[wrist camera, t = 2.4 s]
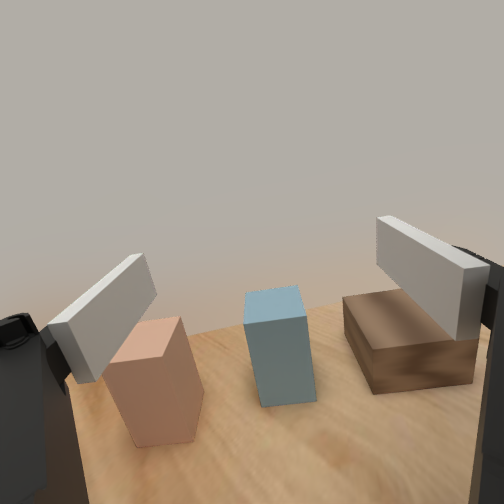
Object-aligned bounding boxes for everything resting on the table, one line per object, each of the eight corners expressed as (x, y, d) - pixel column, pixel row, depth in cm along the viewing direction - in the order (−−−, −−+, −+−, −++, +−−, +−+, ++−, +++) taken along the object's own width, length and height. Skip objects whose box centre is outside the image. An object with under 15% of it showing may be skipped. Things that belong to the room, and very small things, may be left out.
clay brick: (204, 391, 33) (180, 316, 29) (193, 441, 27) (162, 356, 23) (156, 397, 33) (127, 323, 29) (136, 447, 28) (96, 364, 24)
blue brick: (306, 360, 35) (297, 285, 31) (316, 401, 29) (306, 315, 25) (260, 366, 35) (245, 292, 31) (261, 407, 30) (243, 324, 26)
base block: (418, 324, 37) (420, 286, 35) (472, 383, 28) (479, 336, 26) (344, 333, 38) (342, 297, 36) (373, 394, 29) (372, 349, 27)
